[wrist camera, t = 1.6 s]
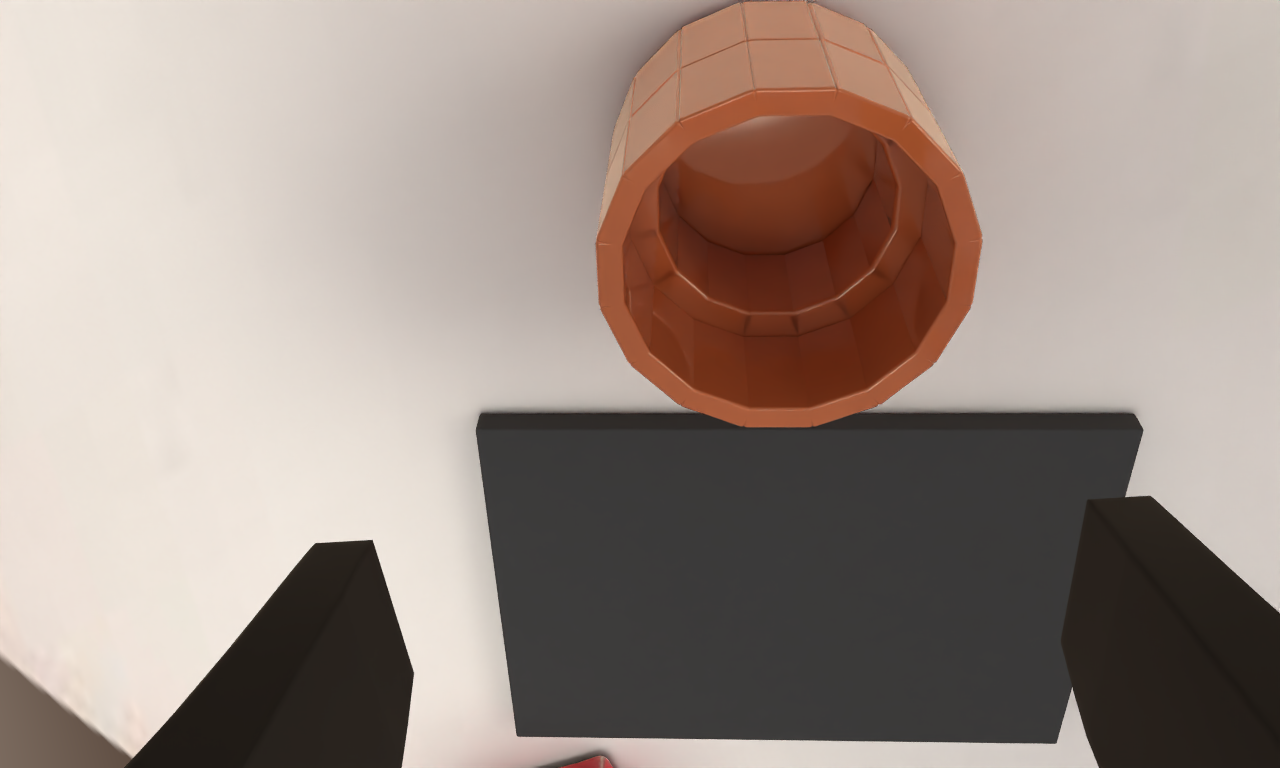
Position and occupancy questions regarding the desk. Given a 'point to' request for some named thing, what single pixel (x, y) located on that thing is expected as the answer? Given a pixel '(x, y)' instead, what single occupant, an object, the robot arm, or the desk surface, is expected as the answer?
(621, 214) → the flower pot
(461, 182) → the desk surface
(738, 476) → the desk pad
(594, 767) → the ink box
